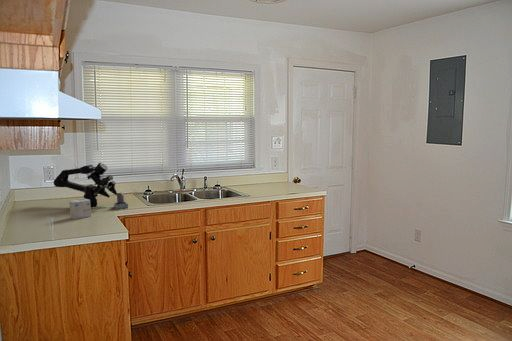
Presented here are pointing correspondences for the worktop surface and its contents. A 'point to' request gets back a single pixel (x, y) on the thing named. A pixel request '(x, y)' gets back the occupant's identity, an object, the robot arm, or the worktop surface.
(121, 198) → the charger
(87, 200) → the light bulb box
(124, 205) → the charging dock
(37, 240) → the worktop surface
